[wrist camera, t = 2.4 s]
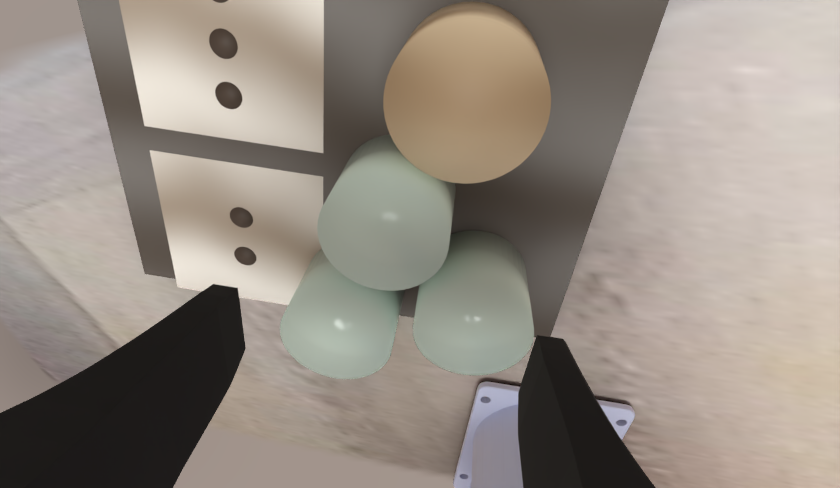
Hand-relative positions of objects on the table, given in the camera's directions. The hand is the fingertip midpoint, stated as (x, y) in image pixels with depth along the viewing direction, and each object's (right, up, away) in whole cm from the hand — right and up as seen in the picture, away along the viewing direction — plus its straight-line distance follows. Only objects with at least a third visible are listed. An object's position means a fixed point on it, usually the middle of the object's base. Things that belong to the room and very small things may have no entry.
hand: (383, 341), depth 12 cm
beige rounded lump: (+3, +8, +5) cm, 10 cm away
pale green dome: (+3, +1, +9) cm, 10 cm away
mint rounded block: (-2, +1, +10) cm, 10 cm away
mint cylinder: (0, +5, +7) cm, 9 cm away
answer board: (-2, +7, +7) cm, 10 cm away
